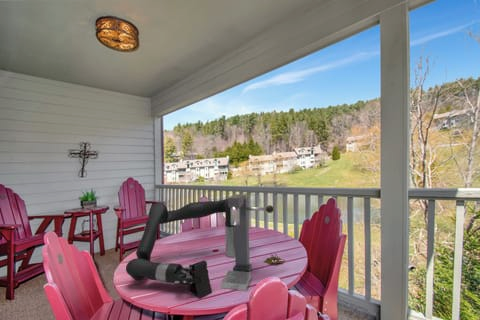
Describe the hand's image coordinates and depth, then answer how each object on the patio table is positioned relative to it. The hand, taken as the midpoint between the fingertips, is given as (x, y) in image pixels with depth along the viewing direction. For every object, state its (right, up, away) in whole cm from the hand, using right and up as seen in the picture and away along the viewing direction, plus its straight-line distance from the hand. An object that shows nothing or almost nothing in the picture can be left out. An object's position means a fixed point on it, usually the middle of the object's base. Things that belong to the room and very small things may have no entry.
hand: (204, 276), depth 92 cm
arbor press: (+20, -6, +10) cm, 23 cm away
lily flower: (+34, -7, +28) cm, 45 cm away
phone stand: (-2, -7, 0) cm, 7 cm away
